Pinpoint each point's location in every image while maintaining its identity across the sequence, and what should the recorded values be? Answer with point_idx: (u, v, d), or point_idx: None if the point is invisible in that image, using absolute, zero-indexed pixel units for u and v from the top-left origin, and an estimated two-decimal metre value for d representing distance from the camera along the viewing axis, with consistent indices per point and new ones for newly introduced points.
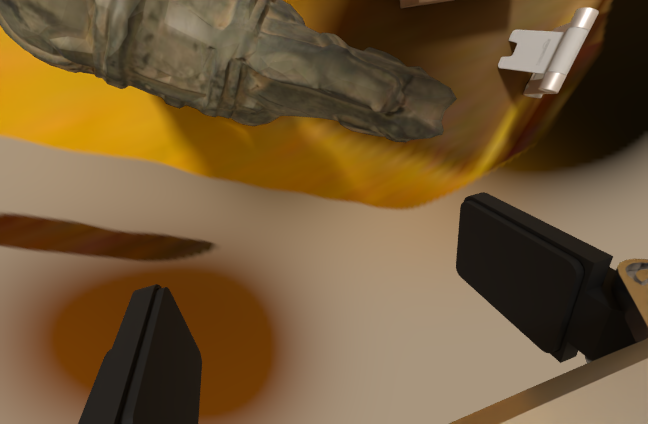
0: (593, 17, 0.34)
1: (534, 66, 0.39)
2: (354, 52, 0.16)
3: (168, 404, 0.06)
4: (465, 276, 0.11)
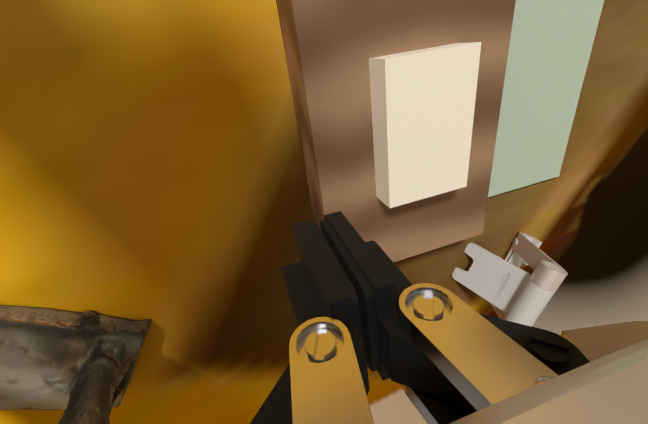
0: (560, 280, 0.27)
1: (492, 297, 0.32)
2: None
3: None
4: None
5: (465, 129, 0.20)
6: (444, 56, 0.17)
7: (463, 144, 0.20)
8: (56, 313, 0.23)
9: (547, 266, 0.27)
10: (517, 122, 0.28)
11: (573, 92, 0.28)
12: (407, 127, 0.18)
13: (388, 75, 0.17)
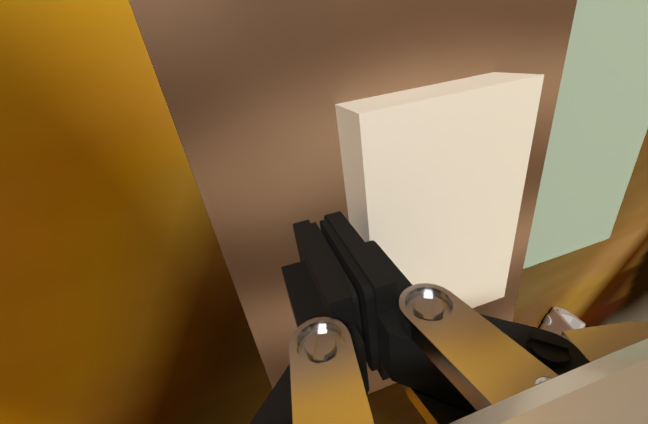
0: None
1: None
2: None
3: None
4: None
5: (507, 218, 0.12)
6: (475, 103, 0.09)
7: (502, 240, 0.12)
8: None
9: None
10: (556, 175, 0.19)
11: (637, 130, 0.20)
12: (406, 225, 0.10)
13: (367, 142, 0.09)
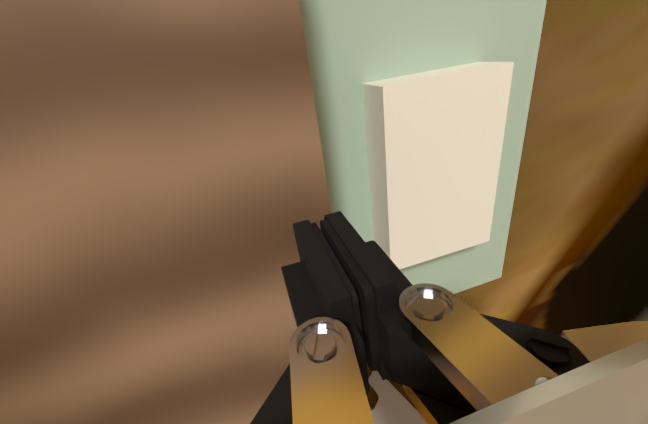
0: None
1: None
2: None
3: None
4: None
5: None
6: None
7: None
8: None
9: None
10: None
11: (507, 167, 0.18)
12: None
13: None
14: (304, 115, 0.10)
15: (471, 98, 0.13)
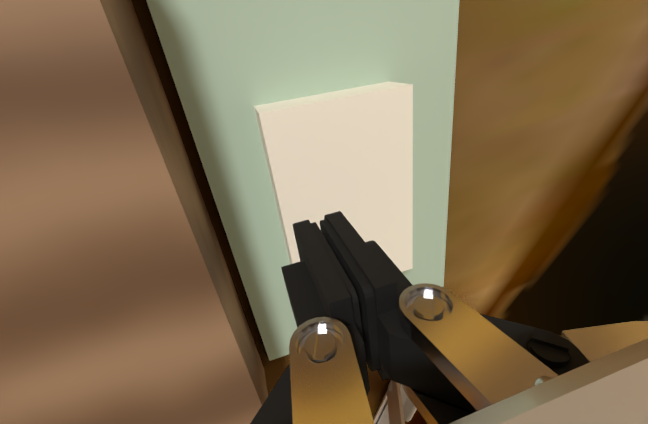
0: None
1: None
2: None
3: None
4: None
5: None
6: None
7: None
8: None
9: None
10: None
11: (435, 189, 0.17)
12: None
13: None
14: (144, 150, 0.09)
15: (367, 123, 0.12)
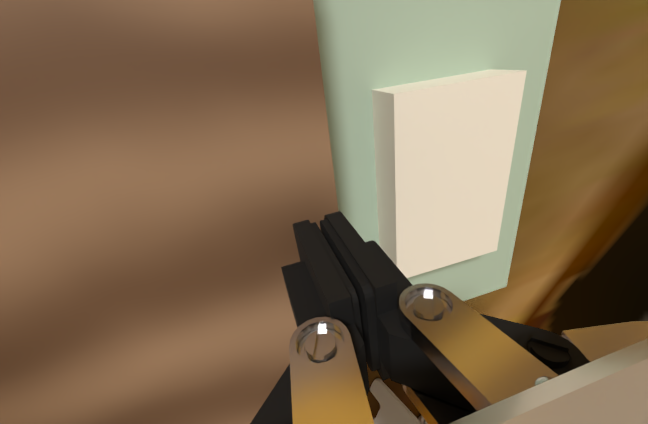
0: None
1: None
2: None
3: None
4: None
5: None
6: None
7: None
8: None
9: None
10: None
11: (515, 176, 0.18)
12: None
13: None
14: (315, 122, 0.10)
15: (482, 106, 0.13)
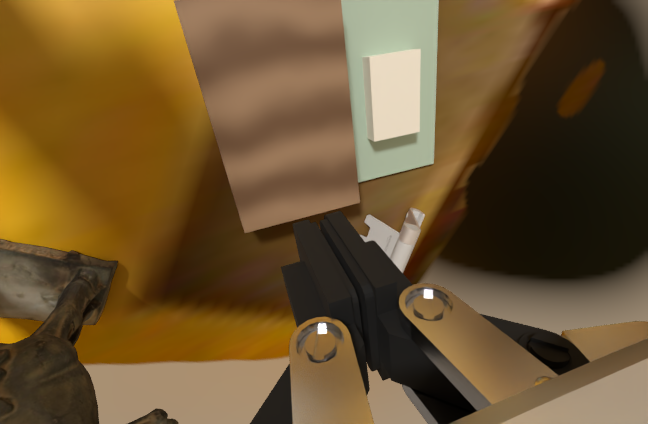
0: (415, 236, 0.37)
1: None
2: None
3: None
4: None
5: None
6: None
7: None
8: (50, 250, 0.33)
9: (406, 226, 0.37)
10: None
11: (429, 99, 0.39)
12: None
13: None
14: (343, 64, 0.30)
15: (404, 62, 0.34)
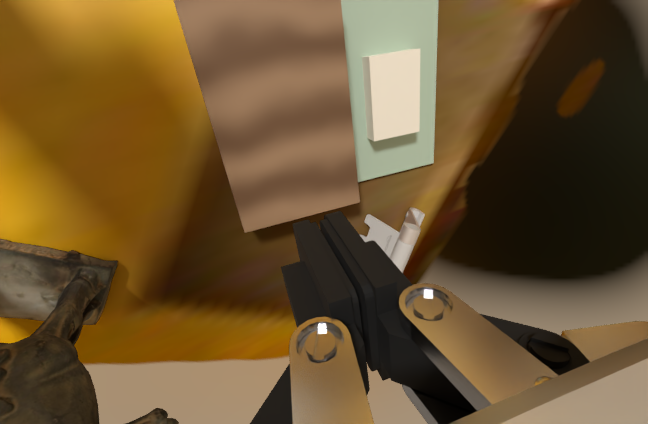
0: (414, 236, 0.37)
1: None
2: None
3: None
4: None
5: None
6: None
7: None
8: (50, 250, 0.33)
9: (406, 225, 0.37)
10: None
11: (429, 99, 0.39)
12: None
13: None
14: (343, 63, 0.30)
15: (404, 62, 0.34)
